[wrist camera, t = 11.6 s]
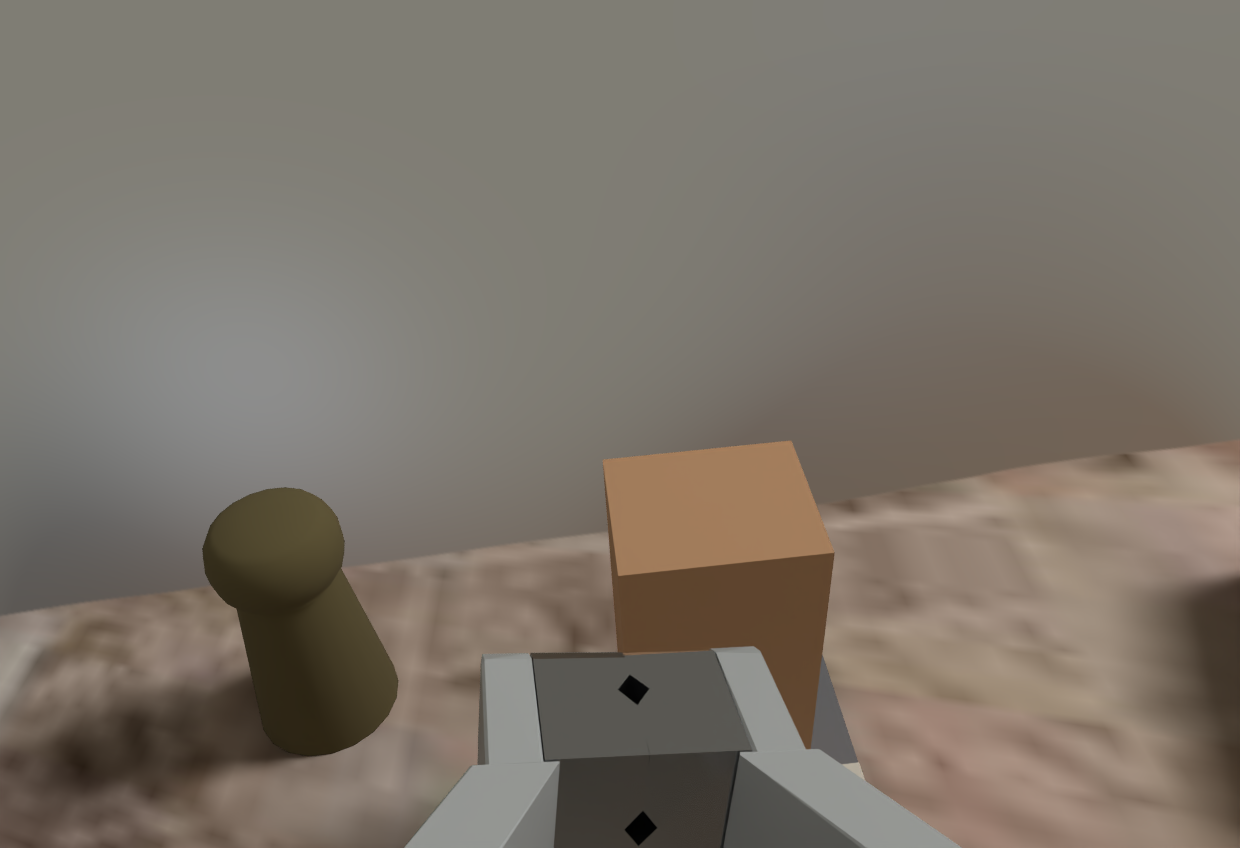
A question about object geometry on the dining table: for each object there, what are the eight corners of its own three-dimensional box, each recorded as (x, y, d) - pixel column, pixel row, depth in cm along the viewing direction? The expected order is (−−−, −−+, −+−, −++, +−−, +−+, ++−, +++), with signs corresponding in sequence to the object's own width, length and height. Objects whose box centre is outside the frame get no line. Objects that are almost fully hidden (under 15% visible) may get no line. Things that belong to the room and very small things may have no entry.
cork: (231, 732, 42) (143, 553, 35) (313, 629, 46) (248, 452, 40) (349, 773, 40) (279, 592, 33) (423, 662, 44) (374, 482, 38)
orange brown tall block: (800, 830, 35) (834, 552, 27) (638, 850, 35) (618, 576, 26) (770, 715, 39) (791, 440, 31) (624, 732, 39) (602, 459, 30)
